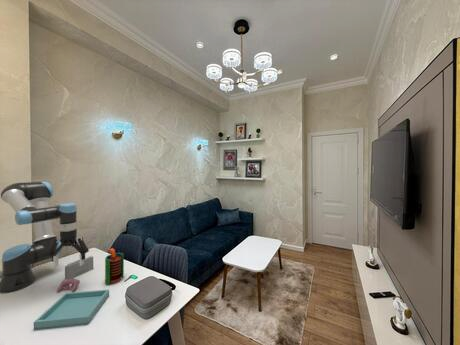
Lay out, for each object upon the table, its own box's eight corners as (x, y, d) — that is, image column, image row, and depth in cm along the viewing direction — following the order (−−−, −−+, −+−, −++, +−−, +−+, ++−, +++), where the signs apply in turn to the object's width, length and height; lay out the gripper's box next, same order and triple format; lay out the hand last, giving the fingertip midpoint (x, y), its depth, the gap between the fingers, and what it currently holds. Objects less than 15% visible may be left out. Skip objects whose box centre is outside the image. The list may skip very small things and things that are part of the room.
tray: (33, 329, 84) (33, 322, 84) (65, 299, 104) (65, 292, 104) (88, 324, 87) (88, 316, 87) (109, 295, 107) (109, 289, 107)
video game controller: (78, 291, 113) (82, 278, 116) (72, 292, 109) (76, 278, 112) (61, 291, 112) (65, 278, 115) (55, 293, 108) (59, 278, 111)
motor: (113, 286, 115) (113, 253, 115) (101, 284, 117) (100, 252, 117) (125, 277, 125) (125, 247, 125) (114, 275, 127) (114, 245, 127)
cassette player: (91, 268, 136) (90, 254, 136) (93, 269, 135) (93, 255, 135) (65, 280, 122) (64, 264, 121) (67, 281, 121) (67, 265, 120)
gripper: (38, 233, 106) (39, 270, 106) (87, 230, 109) (88, 267, 110) (49, 229, 113) (50, 264, 113) (95, 226, 117) (95, 261, 117)
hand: (69, 265), depth 112 cm, fingers open, 13 cm apart
